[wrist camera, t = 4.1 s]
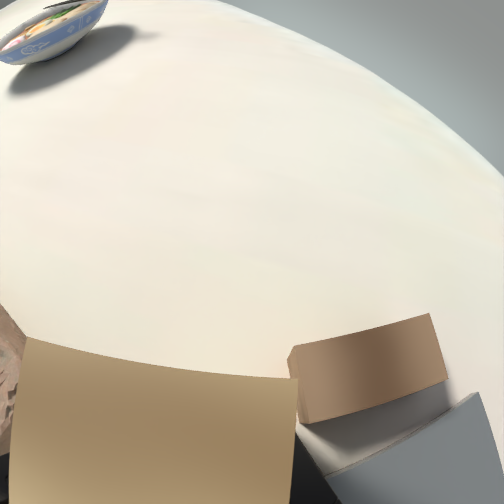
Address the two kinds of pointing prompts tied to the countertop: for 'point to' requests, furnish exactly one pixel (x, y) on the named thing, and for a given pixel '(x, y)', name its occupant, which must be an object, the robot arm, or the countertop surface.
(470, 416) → the slate coaster
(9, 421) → the brick
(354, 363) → the walnut brick
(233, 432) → the oak post
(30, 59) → the ramen bowl
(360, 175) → the countertop surface
